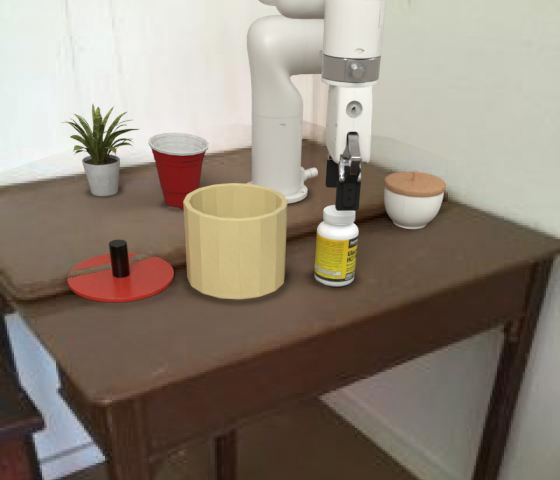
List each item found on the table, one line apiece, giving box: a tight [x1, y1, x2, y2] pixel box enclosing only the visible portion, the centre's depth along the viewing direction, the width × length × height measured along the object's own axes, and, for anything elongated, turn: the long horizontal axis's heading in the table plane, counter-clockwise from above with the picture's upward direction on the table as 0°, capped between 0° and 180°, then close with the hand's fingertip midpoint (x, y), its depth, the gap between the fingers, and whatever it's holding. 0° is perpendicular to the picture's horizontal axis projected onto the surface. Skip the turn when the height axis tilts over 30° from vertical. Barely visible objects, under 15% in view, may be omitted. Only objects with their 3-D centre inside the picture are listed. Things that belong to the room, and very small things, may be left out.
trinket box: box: [383, 170, 447, 230], centre depth 125 cm, size 11×11×9 cm
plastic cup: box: [148, 132, 210, 211], centre depth 129 cm, size 11×11×12 cm
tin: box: [183, 182, 288, 300], centre depth 103 cm, size 15×15×12 cm
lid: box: [66, 239, 175, 303], centre depth 104 cm, size 16×16×6 cm
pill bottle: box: [313, 204, 360, 288], centre depth 105 cm, size 6×6×11 cm
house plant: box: [61, 104, 140, 197], centre depth 131 cm, size 14×14×16 cm
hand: (341, 197), depth 100 cm, fingers open, 9 cm apart
